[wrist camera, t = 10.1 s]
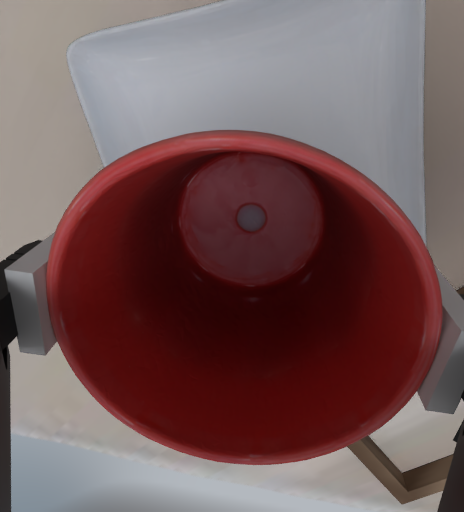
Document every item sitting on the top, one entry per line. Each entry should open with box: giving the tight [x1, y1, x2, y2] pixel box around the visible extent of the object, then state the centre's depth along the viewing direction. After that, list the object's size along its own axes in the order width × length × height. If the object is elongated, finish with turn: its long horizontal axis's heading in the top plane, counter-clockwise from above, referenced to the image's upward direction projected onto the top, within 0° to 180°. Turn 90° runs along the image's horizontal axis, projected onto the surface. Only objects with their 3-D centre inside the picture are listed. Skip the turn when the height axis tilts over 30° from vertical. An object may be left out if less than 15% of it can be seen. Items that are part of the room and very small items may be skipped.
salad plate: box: [66, 0, 427, 248], centre depth 27 cm, size 21×21×3 cm
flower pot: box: [46, 130, 443, 465], centre depth 15 cm, size 11×11×10 cm
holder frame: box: [347, 287, 464, 504], centre depth 35 cm, size 19×19×2 cm
